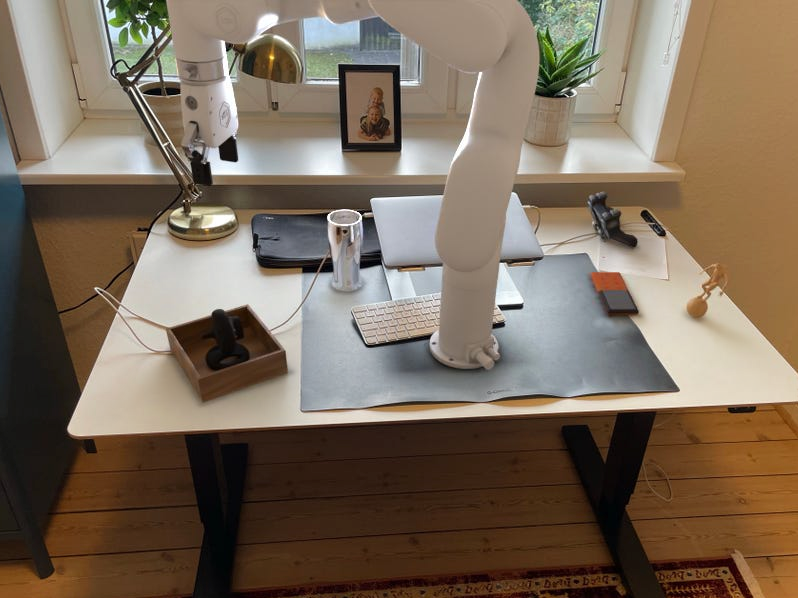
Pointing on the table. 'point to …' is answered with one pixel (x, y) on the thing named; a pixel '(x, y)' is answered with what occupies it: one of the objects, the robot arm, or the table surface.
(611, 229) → the dark grey mechanical bracket
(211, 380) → the wooden box
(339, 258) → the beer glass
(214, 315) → the webcam
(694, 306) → the figurine
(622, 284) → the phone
